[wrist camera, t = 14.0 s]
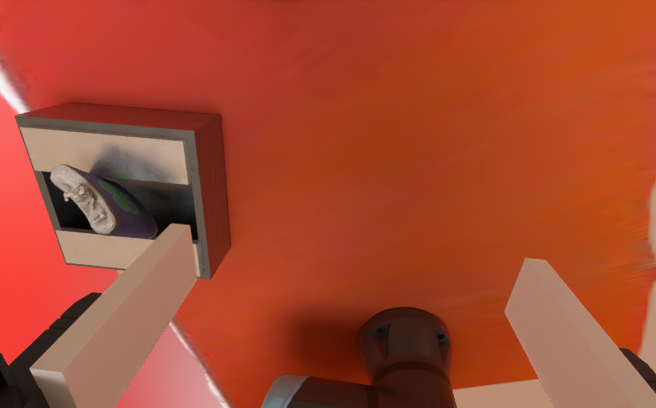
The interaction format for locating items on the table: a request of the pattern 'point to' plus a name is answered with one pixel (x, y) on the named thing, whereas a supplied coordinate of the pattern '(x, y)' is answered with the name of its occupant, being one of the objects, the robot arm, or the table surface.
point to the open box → (133, 176)
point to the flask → (105, 203)
